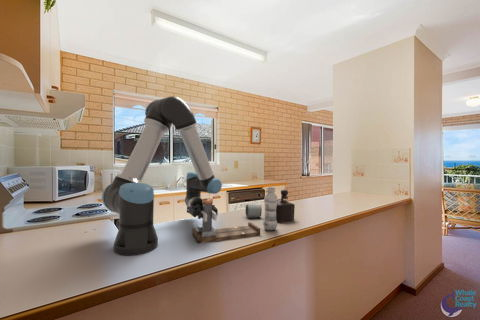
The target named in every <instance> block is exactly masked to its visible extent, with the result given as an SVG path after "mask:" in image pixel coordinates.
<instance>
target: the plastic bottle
mask: <svg viewBox="0 0 480 320" xmlns="http://www.w3.org/2000/svg"><path fill="white" fill-rule="evenodd" d="M275 192H276V187H267V188H266V194H265V196H264V198H263V202H264V203H263V204H264V216H263V217H264V218H263V223H262V224H263V228H264V230H267V231H275V230H276V229H277V227H278V222H277V220H276V207H277V201H278V199H279V198H278V196H277V194H276V193H275Z"/></svg>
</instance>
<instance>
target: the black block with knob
mask: <svg viewBox="0 0 480 320" xmlns="http://www.w3.org/2000/svg"><path fill="white" fill-rule="evenodd" d="M288 194H289V191H288V190H287V189H281V190H280V195H281V197H280V198H277V199H278V201H277V207H276V220H277V223H290V222H294V221H295V206H296V205H295V204H294V203H292V202H289V201H288V199H289V196H288Z"/></svg>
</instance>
